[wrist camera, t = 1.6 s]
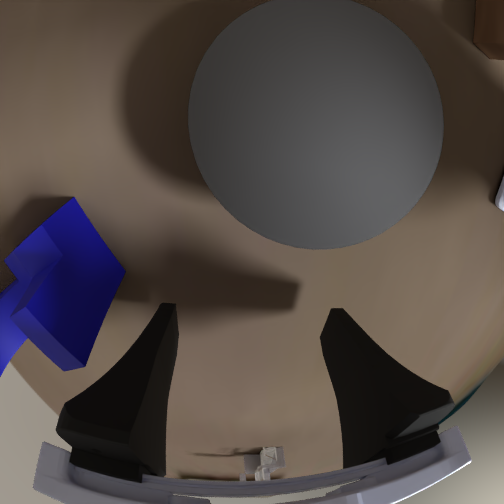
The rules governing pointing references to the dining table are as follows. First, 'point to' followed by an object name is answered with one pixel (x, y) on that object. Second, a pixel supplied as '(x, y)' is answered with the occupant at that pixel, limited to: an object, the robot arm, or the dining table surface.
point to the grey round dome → (315, 122)
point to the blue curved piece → (58, 289)
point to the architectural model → (263, 463)
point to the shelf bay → (490, 28)
